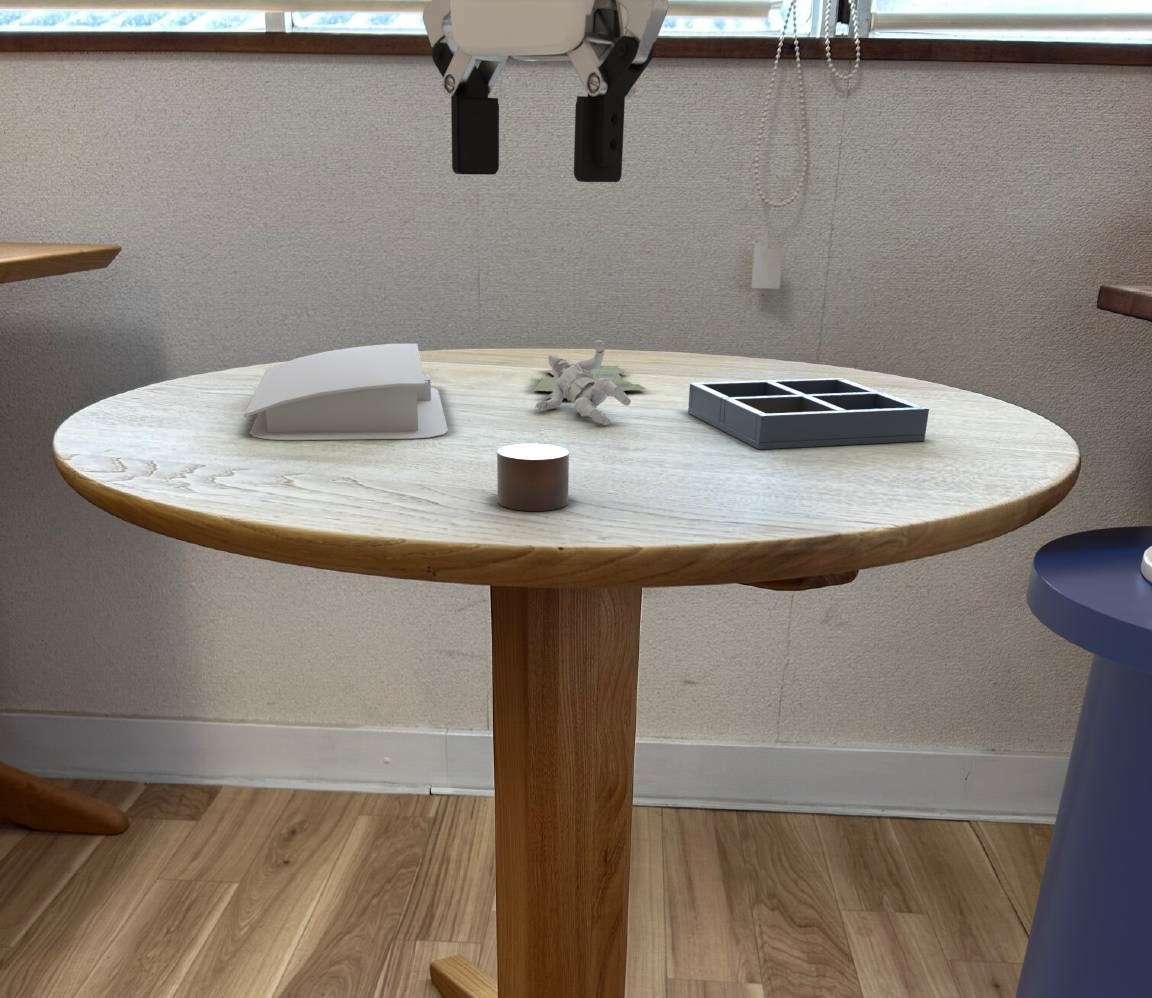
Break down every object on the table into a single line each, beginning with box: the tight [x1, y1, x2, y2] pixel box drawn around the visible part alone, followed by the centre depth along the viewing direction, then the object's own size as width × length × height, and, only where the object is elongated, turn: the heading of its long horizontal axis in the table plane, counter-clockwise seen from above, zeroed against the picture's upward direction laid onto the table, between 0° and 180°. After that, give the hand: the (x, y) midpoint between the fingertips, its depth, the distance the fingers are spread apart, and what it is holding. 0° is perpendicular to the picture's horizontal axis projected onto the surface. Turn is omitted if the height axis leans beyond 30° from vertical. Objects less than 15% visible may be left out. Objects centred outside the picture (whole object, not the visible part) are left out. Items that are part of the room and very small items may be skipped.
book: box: [244, 343, 449, 441], centre depth 102 cm, size 15×23×4 cm, turn 8°
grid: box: [687, 377, 930, 450], centre depth 100 cm, size 14×14×2 cm
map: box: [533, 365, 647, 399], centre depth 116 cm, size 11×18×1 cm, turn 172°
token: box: [496, 443, 570, 512], centre depth 77 cm, size 4×4×3 cm
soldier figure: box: [534, 339, 632, 426], centre depth 103 cm, size 8×5×12 cm
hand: (534, 177), depth 69 cm, fingers open, 9 cm apart
